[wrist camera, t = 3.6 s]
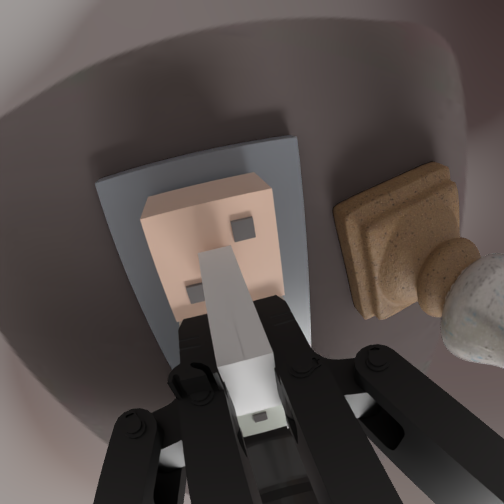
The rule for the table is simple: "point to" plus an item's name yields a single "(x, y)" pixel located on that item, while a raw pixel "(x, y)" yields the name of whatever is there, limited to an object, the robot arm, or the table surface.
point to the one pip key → (262, 420)
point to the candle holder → (423, 261)
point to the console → (196, 172)
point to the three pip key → (213, 238)
